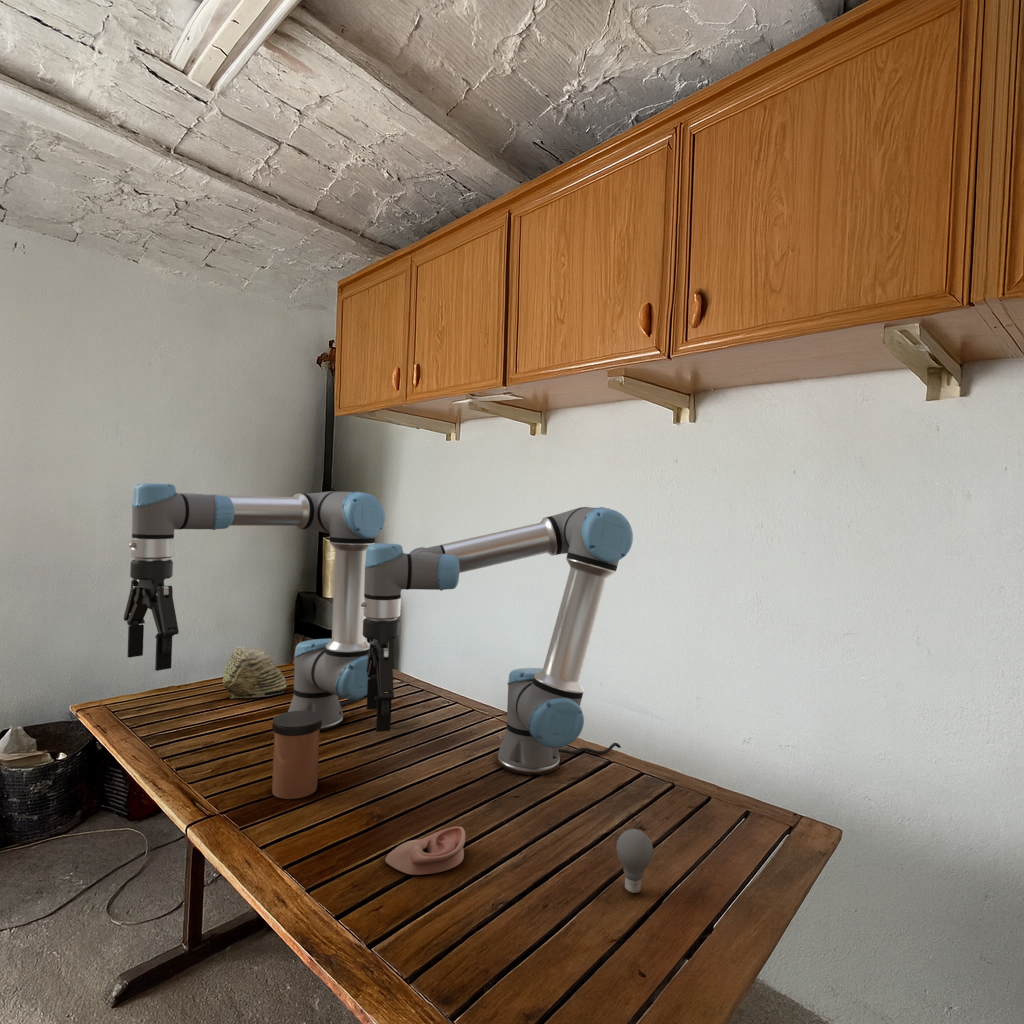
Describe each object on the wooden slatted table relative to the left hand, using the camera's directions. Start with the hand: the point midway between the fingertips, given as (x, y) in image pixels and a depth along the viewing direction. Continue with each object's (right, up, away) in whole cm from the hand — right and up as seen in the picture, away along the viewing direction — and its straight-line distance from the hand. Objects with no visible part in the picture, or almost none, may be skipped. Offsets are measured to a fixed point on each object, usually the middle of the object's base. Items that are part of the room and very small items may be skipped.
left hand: (148, 662), depth 129 cm
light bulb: (+94, -33, -24) cm, 103 cm away
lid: (+28, -14, +7) cm, 32 cm away
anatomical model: (+59, -31, -17) cm, 69 cm away
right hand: (+46, -13, +3) cm, 48 cm away
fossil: (-6, -27, +69) cm, 74 cm away
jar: (+27, -29, +8) cm, 41 cm away
